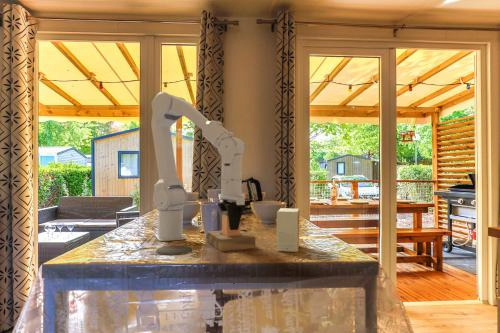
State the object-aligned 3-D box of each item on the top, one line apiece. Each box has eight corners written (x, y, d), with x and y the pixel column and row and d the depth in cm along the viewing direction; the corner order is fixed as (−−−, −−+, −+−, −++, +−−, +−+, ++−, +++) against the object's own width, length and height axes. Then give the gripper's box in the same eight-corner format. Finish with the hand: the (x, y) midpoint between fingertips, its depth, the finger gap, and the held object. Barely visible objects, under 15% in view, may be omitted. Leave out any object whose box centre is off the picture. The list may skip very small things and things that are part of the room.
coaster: (153, 248, 89) (153, 247, 89) (187, 245, 93) (187, 244, 93) (159, 256, 81) (159, 254, 81) (195, 253, 85) (195, 251, 85)
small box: (297, 252, 86) (298, 211, 86) (276, 251, 87) (276, 211, 87) (299, 245, 94) (299, 208, 94) (279, 244, 95) (280, 207, 95)
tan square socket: (207, 241, 98) (207, 231, 98) (238, 239, 102) (239, 229, 102) (220, 251, 87) (220, 239, 87) (255, 247, 91) (255, 236, 91)
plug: (221, 241, 95) (221, 210, 95) (235, 240, 97) (235, 210, 97) (226, 245, 91) (226, 212, 91) (240, 243, 93) (241, 212, 93)
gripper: (255, 180, 89) (254, 231, 89) (235, 179, 102) (235, 223, 102) (230, 180, 86) (230, 233, 86) (213, 179, 100) (212, 224, 99)
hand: (231, 228), depth 94 cm, fingers closed on plug, 4 cm apart
